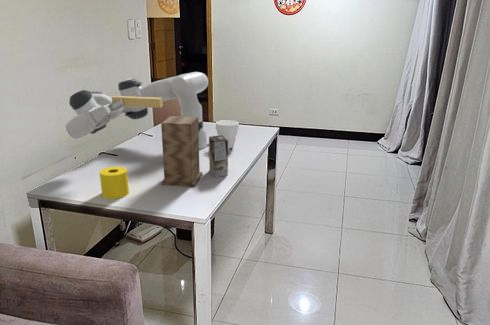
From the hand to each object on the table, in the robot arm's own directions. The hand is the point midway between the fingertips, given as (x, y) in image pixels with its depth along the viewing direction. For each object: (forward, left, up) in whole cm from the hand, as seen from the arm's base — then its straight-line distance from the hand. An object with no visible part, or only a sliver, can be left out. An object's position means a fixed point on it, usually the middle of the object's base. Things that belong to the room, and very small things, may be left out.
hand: (125, 99), depth 163 cm
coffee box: (+9, +36, -34) cm, 50 cm away
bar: (+3, +4, -2) cm, 5 cm away
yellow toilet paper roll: (+16, -9, -34) cm, 38 cm away
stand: (+11, +19, -33) cm, 40 cm away
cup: (-26, +53, -34) cm, 68 cm away
